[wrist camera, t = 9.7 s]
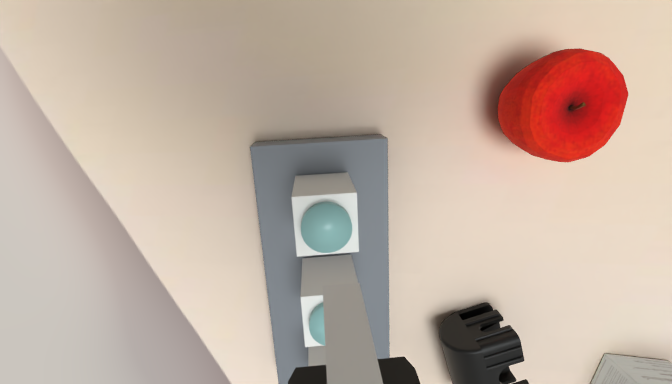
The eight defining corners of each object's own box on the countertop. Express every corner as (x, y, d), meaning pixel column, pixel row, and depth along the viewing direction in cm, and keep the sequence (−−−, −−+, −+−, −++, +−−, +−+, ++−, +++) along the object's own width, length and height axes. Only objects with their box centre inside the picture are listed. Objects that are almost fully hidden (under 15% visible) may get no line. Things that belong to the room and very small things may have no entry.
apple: (579, 120, 34) (655, 128, 27) (501, 167, 35) (552, 187, 28) (547, 36, 32) (620, 19, 24) (463, 89, 33) (509, 88, 25)
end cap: (428, 316, 40) (451, 359, 33) (487, 297, 39) (522, 337, 33) (447, 381, 42) (471, 433, 36) (502, 364, 42) (537, 413, 36)
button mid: (302, 258, 32) (300, 303, 26) (351, 254, 33) (361, 298, 26) (306, 300, 34) (305, 354, 27) (352, 296, 34) (363, 349, 27)
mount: (255, 141, 33) (238, 157, 25) (380, 134, 33) (401, 147, 26) (281, 366, 40) (274, 431, 32) (383, 356, 41) (400, 418, 33)
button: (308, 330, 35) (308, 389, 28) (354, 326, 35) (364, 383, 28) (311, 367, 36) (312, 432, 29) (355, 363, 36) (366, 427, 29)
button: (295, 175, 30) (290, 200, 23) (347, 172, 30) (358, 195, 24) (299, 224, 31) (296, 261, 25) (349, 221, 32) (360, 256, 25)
